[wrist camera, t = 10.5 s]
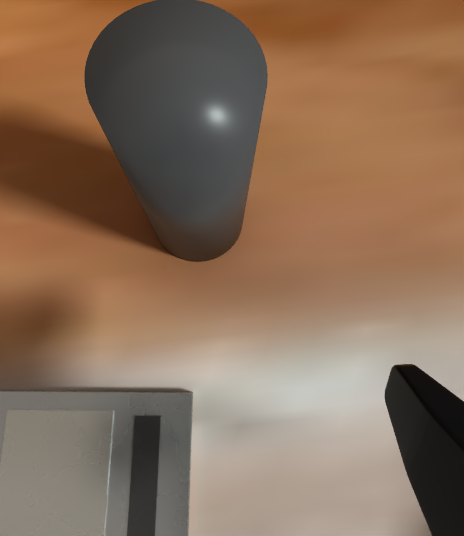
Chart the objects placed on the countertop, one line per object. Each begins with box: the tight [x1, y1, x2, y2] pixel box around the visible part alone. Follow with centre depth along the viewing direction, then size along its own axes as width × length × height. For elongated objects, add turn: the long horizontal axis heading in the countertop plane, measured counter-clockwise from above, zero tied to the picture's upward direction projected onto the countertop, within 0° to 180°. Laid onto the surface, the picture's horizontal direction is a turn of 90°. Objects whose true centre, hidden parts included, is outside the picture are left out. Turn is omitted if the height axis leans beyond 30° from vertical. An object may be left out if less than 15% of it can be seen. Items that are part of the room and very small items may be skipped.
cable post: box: [85, 0, 268, 262], centre depth 16 cm, size 5×5×11 cm
